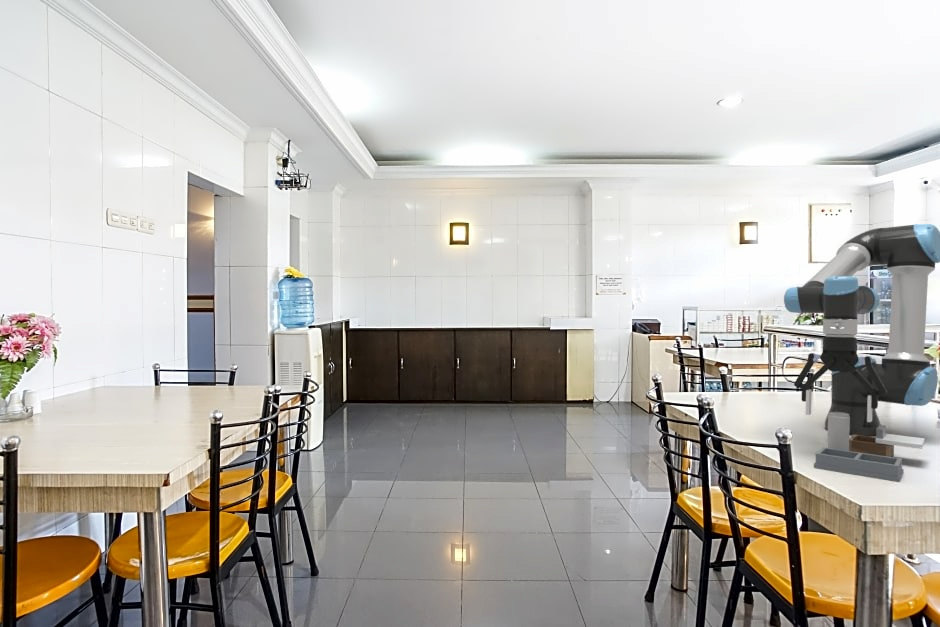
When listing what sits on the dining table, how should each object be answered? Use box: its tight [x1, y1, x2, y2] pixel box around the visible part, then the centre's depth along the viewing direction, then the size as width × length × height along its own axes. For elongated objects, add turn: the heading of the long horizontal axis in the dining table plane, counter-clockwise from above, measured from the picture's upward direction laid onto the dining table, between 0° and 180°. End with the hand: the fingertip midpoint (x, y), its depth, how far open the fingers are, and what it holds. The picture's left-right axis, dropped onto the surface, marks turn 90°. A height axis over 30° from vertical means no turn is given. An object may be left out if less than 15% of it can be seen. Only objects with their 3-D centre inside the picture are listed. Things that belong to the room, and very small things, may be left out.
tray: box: [849, 435, 895, 458], centre depth 153 cm, size 9×9×4 cm
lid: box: [875, 424, 926, 450], centre depth 149 cm, size 9×9×3 cm
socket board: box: [813, 447, 905, 483], centre depth 140 cm, size 9×17×4 cm, turn 48°
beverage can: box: [827, 411, 850, 451], centre depth 150 cm, size 5×5×12 cm
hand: (838, 417), depth 150 cm, fingers open, 13 cm apart
